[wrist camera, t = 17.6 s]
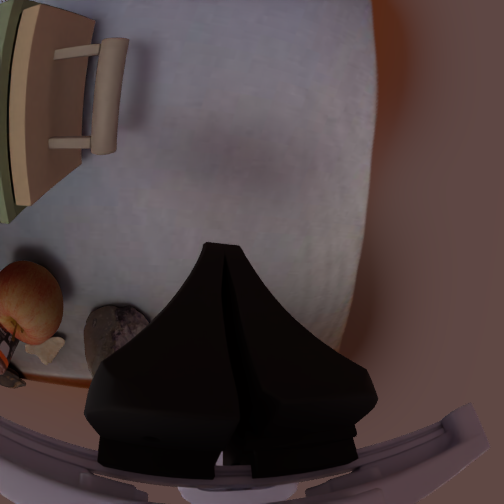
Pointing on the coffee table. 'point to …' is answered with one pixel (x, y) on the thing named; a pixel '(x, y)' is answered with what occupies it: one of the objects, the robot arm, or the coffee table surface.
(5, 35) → the cabinet
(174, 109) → the coffee table surface
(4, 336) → the supplement bottle
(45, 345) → the stone tool
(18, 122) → the drawer
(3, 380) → the decorative plaque
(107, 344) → the mineral rock
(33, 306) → the apple
